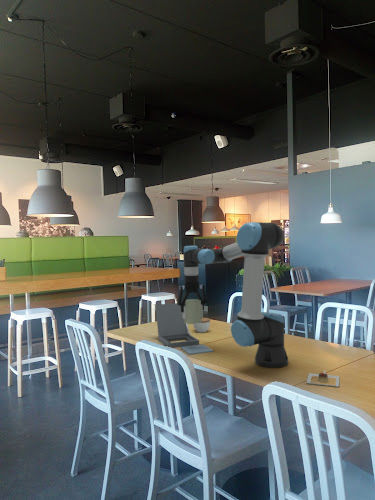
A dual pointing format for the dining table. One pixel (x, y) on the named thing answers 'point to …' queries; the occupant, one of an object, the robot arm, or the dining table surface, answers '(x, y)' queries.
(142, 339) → the dining table surface
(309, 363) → the dining table surface
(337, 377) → the dessert
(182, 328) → the case
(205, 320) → the lidded jar
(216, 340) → the dining table surface
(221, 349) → the dining table surface
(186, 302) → the can
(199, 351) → the mat
